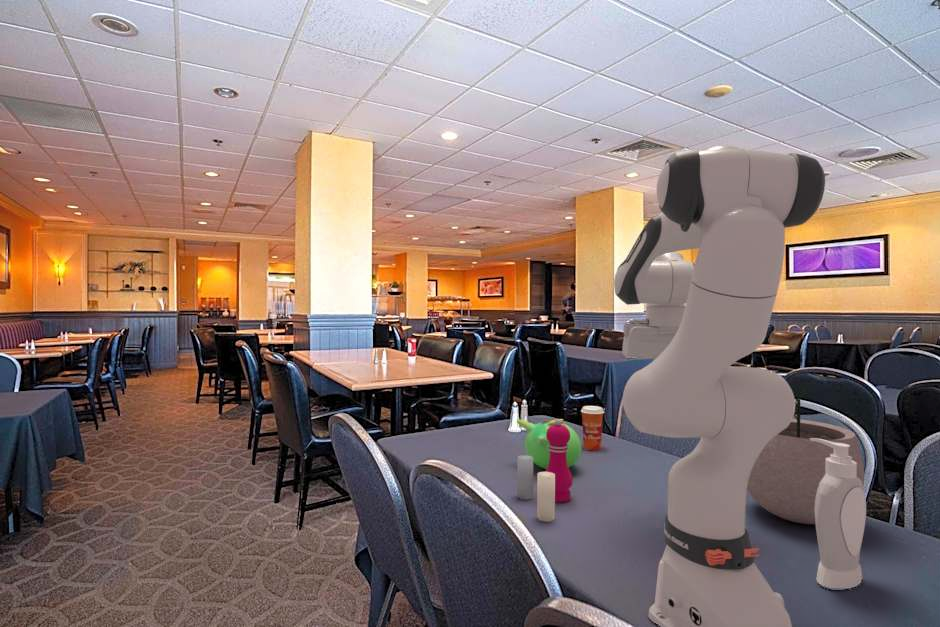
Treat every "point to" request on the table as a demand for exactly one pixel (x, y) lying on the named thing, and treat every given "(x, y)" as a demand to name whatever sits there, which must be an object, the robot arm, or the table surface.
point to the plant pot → (797, 467)
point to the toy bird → (539, 444)
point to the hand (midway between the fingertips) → (664, 378)
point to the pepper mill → (559, 460)
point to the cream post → (546, 496)
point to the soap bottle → (839, 519)
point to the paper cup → (592, 427)
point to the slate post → (525, 477)
